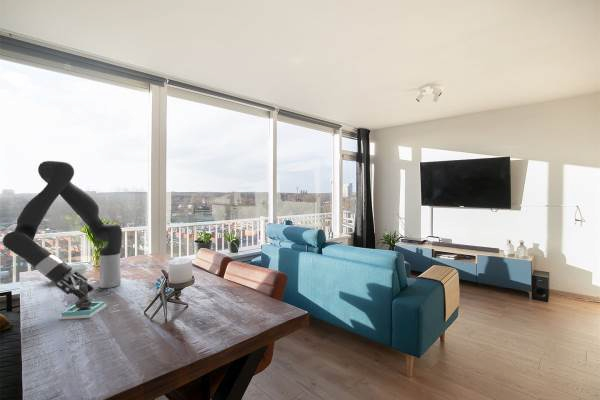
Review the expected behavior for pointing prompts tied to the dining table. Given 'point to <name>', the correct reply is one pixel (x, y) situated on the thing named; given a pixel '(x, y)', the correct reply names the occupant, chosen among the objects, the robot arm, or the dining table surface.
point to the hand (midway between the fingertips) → (87, 293)
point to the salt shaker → (83, 299)
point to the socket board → (83, 311)
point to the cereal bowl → (78, 269)
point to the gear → (160, 283)
